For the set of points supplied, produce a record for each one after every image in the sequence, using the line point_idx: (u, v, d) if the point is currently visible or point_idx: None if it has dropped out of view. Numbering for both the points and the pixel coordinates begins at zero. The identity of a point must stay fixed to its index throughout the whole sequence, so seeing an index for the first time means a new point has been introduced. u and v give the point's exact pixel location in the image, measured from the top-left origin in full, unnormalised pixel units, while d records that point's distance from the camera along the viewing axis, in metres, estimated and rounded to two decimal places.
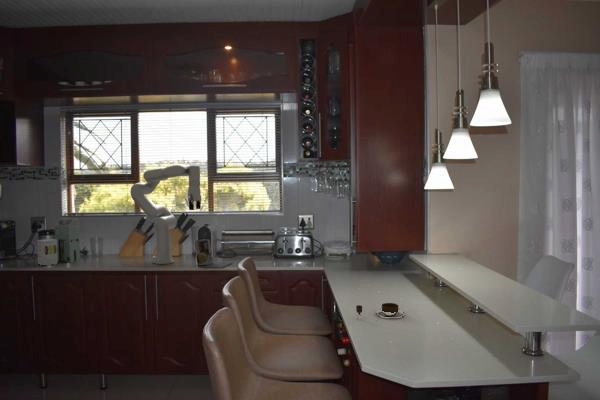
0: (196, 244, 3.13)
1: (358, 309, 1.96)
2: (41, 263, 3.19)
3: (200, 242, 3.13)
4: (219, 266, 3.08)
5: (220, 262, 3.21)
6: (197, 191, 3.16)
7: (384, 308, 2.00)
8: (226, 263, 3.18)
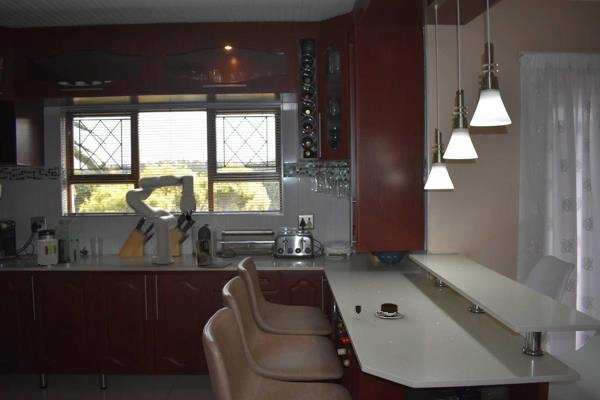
0: (197, 244, 3.14)
1: (357, 309, 1.96)
2: (41, 263, 3.19)
3: (201, 242, 3.13)
4: (219, 266, 3.08)
5: (220, 262, 3.21)
6: None
7: (383, 308, 1.99)
8: (226, 263, 3.18)
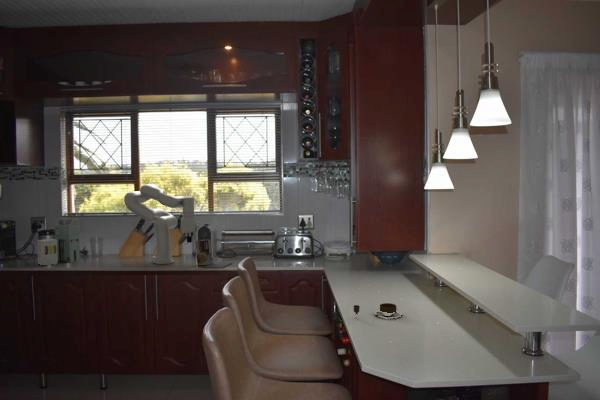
0: (197, 244, 3.14)
1: (355, 309, 1.96)
2: (41, 263, 3.19)
3: (201, 242, 3.13)
4: (219, 266, 3.08)
5: (220, 262, 3.21)
6: None
7: (382, 308, 1.99)
8: (226, 263, 3.18)
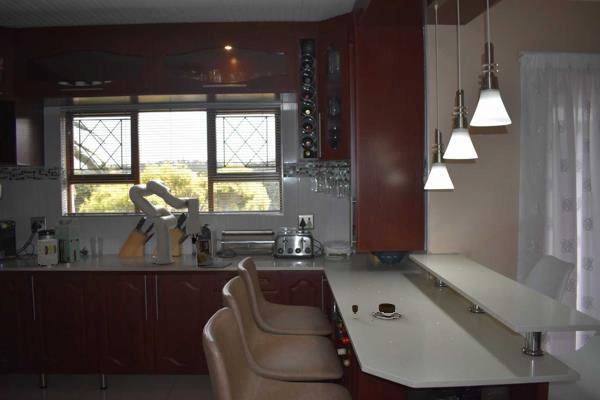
0: (197, 244, 3.14)
1: (354, 309, 1.96)
2: (41, 263, 3.19)
3: (201, 242, 3.13)
4: (219, 266, 3.08)
5: (220, 262, 3.21)
6: None
7: (380, 308, 1.99)
8: (226, 263, 3.18)
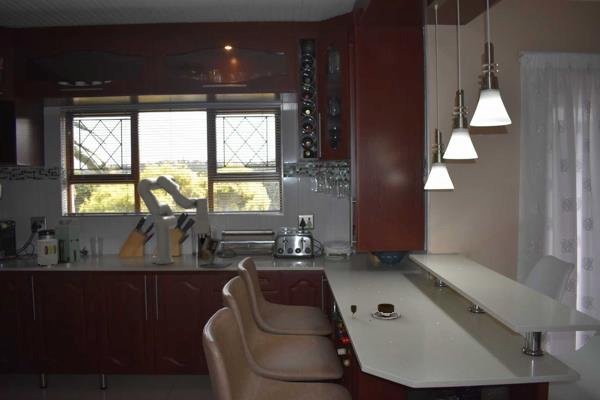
0: (206, 240, 3.13)
1: (352, 309, 1.97)
2: (41, 263, 3.19)
3: (211, 240, 3.12)
4: (219, 266, 3.08)
5: (220, 262, 3.21)
6: None
7: (379, 308, 1.99)
8: (226, 263, 3.18)
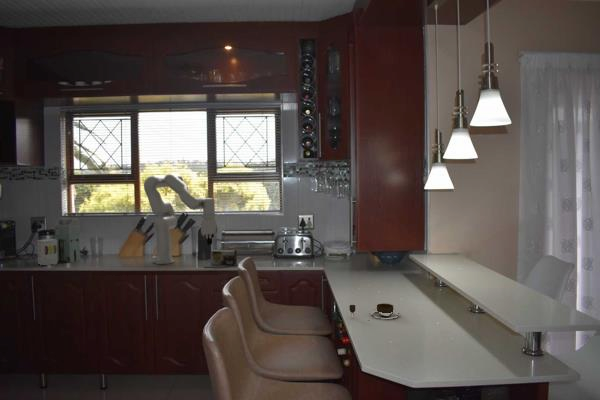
0: (231, 253, 3.12)
1: (351, 308, 1.97)
2: (41, 263, 3.19)
3: (233, 257, 3.12)
4: (219, 266, 3.08)
5: None
6: None
7: (378, 308, 1.99)
8: None
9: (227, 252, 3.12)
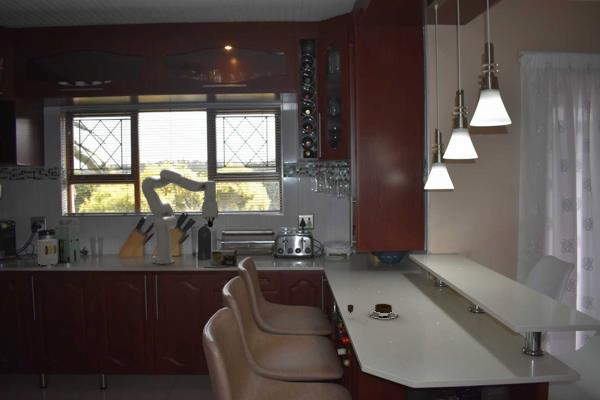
0: (231, 253, 3.12)
1: (349, 308, 1.97)
2: (41, 263, 3.19)
3: (233, 257, 3.12)
4: (219, 266, 3.08)
5: None
6: None
7: (376, 308, 1.99)
8: None
9: (227, 252, 3.12)
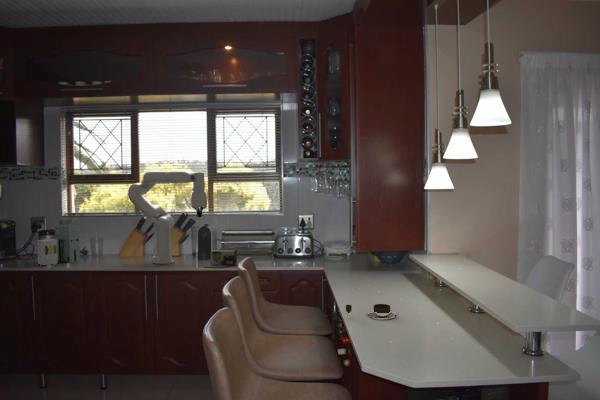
0: (231, 253, 3.12)
1: (347, 308, 1.97)
2: (41, 263, 3.19)
3: (233, 257, 3.12)
4: (219, 266, 3.08)
5: None
6: None
7: (375, 309, 1.99)
8: None
9: (227, 252, 3.12)
